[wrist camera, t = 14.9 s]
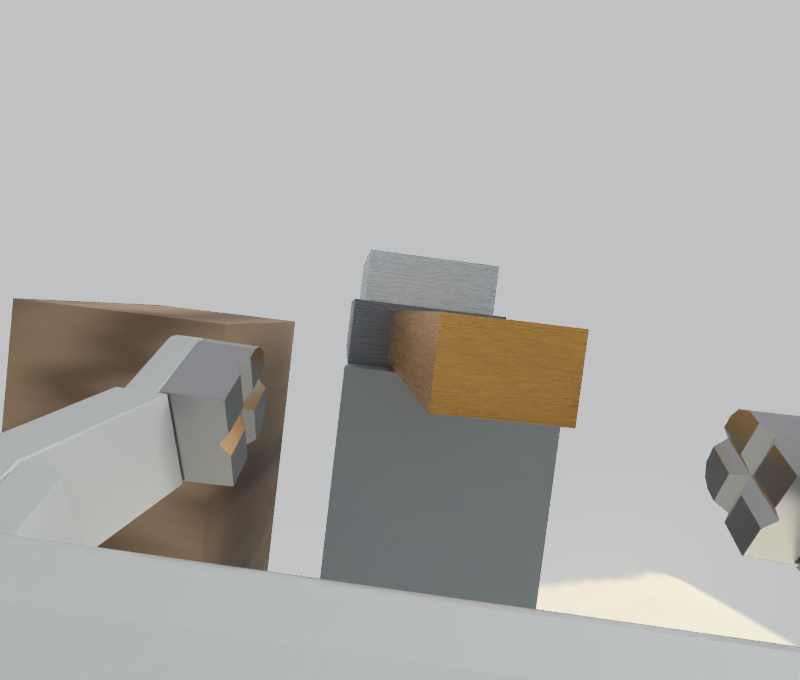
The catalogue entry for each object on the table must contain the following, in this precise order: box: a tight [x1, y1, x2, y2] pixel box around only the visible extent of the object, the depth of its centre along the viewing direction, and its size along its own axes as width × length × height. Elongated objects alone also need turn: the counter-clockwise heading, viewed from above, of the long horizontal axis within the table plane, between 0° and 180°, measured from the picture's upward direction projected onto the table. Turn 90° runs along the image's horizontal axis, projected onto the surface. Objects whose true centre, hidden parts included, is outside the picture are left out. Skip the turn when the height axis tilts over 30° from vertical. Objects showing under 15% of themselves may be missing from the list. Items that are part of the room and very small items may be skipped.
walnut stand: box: [2, 299, 295, 571], centre depth 26 cm, size 8×11×25 cm
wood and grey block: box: [347, 250, 588, 428], centre depth 20 cm, size 6×20×4 cm, turn 6°
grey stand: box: [320, 363, 560, 609], centre depth 25 cm, size 8×11×24 cm
